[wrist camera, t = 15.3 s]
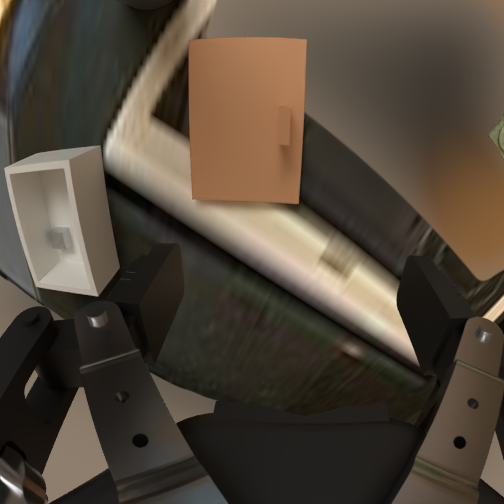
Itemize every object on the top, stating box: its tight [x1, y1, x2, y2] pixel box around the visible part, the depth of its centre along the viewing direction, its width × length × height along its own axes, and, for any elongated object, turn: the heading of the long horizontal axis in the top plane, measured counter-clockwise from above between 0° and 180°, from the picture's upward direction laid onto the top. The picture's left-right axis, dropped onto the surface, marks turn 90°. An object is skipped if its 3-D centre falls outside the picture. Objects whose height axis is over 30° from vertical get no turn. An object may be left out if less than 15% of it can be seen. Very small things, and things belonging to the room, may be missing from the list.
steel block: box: [49, 227, 73, 249], centre depth 46 cm, size 3×3×2 cm
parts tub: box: [4, 146, 120, 296], centre depth 42 cm, size 13×20×8 cm, turn 179°
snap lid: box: [189, 37, 307, 204], centre depth 34 cm, size 14×21×7 cm, turn 179°
